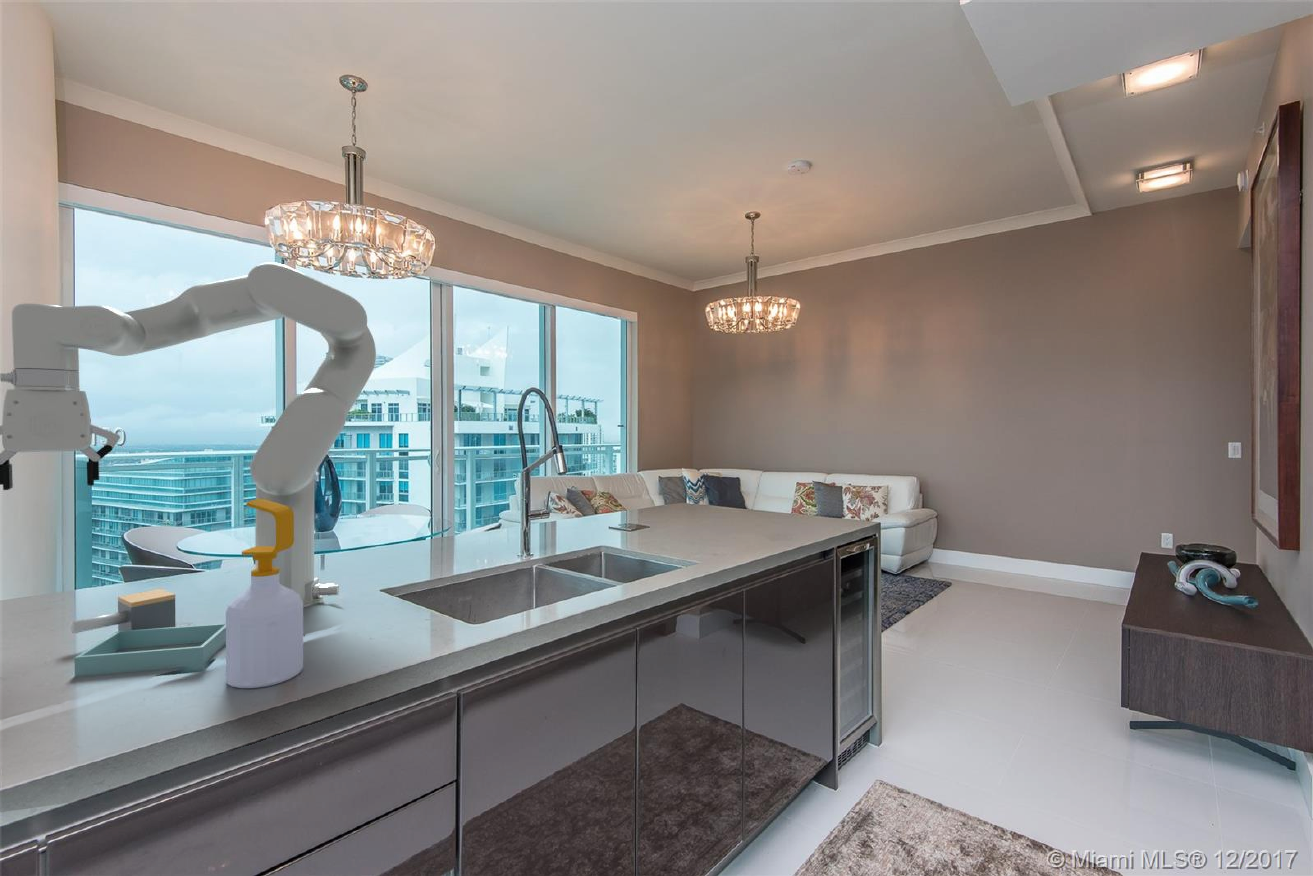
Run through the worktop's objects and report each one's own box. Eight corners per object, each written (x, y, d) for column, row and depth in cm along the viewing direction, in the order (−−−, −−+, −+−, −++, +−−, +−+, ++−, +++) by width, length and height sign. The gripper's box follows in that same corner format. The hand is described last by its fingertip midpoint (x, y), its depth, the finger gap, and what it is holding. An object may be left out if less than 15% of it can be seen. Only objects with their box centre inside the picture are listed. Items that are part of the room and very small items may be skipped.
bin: (230, 645, 96) (230, 623, 96) (203, 671, 86) (202, 647, 86) (117, 654, 92) (117, 631, 92) (74, 683, 82) (74, 657, 82)
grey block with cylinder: (161, 625, 101) (161, 588, 101) (175, 632, 98) (175, 594, 98) (67, 647, 92) (66, 606, 91) (79, 655, 89) (78, 612, 88)
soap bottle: (249, 663, 89) (249, 496, 88) (314, 662, 90) (314, 496, 89) (210, 690, 80) (209, 504, 79) (282, 689, 81) (282, 504, 80)
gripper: (-38, 378, 90) (-34, 493, 91) (118, 383, 102) (120, 485, 102) (-28, 380, 96) (-24, 488, 97) (119, 384, 107) (121, 481, 108)
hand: (50, 487), depth 99 cm, fingers open, 9 cm apart
